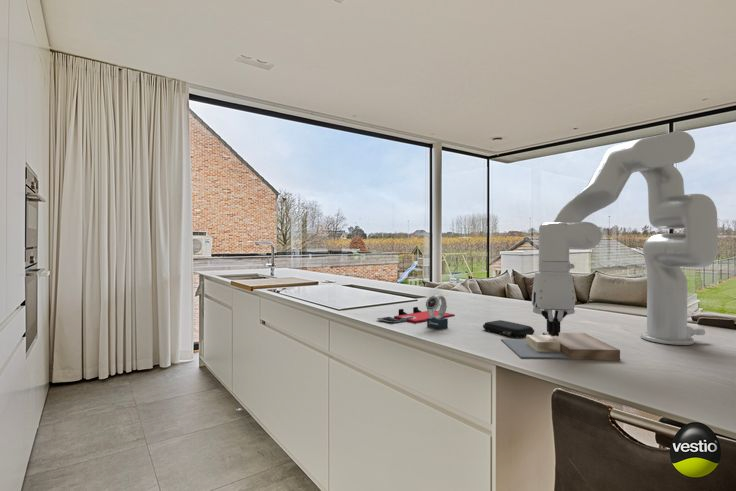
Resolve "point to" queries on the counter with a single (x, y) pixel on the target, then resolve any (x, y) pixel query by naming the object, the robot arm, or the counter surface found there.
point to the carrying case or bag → (508, 328)
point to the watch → (434, 320)
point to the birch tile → (543, 343)
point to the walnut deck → (585, 347)
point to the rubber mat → (531, 350)
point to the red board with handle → (413, 316)
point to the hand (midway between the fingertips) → (553, 334)
